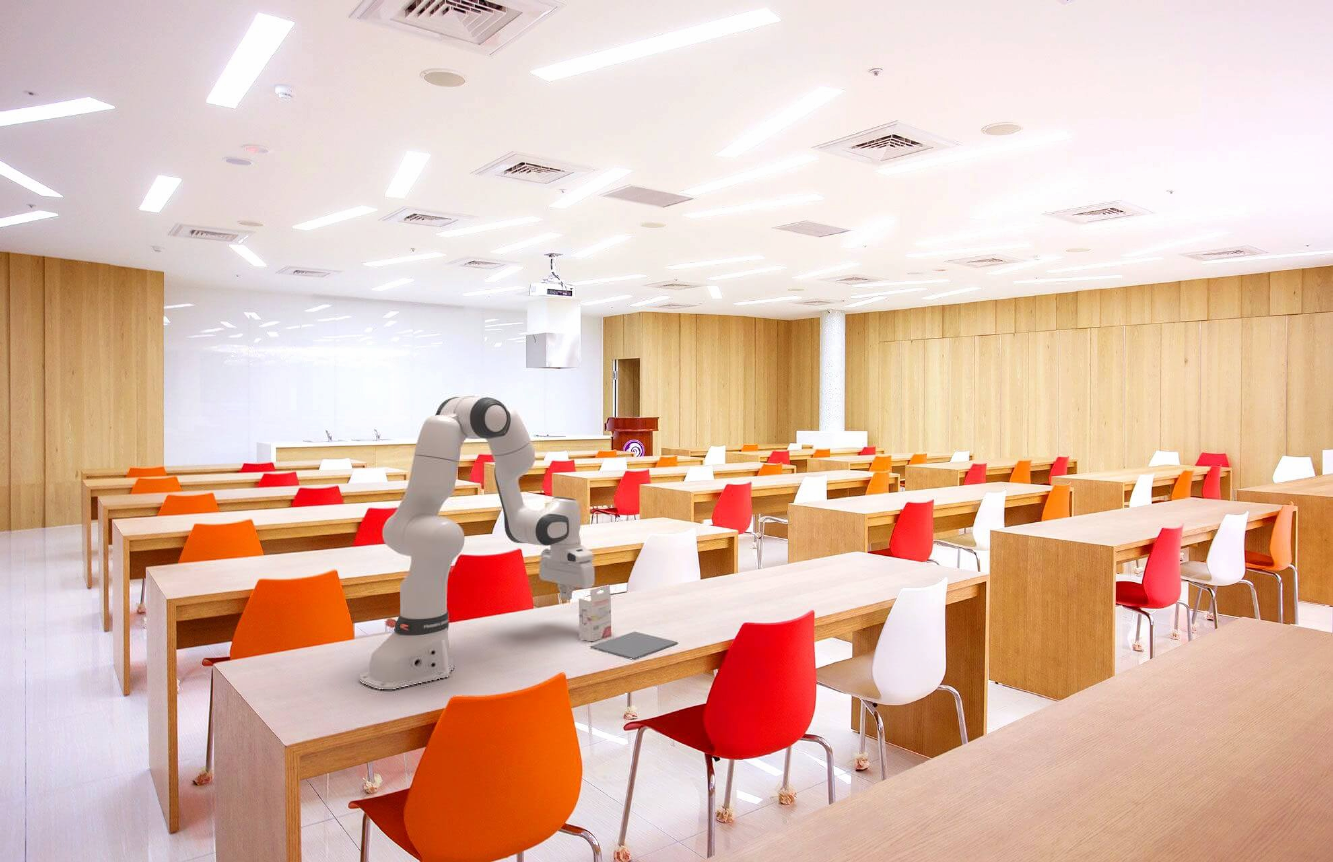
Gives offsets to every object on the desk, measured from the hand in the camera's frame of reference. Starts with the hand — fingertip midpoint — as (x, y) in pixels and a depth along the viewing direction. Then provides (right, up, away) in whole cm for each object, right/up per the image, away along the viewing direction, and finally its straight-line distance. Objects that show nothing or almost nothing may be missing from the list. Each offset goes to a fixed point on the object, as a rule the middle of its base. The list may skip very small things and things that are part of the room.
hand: (566, 598), depth 238 cm
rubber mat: (+20, -10, -16) cm, 28 cm away
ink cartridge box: (+9, -10, -7) cm, 15 cm away
